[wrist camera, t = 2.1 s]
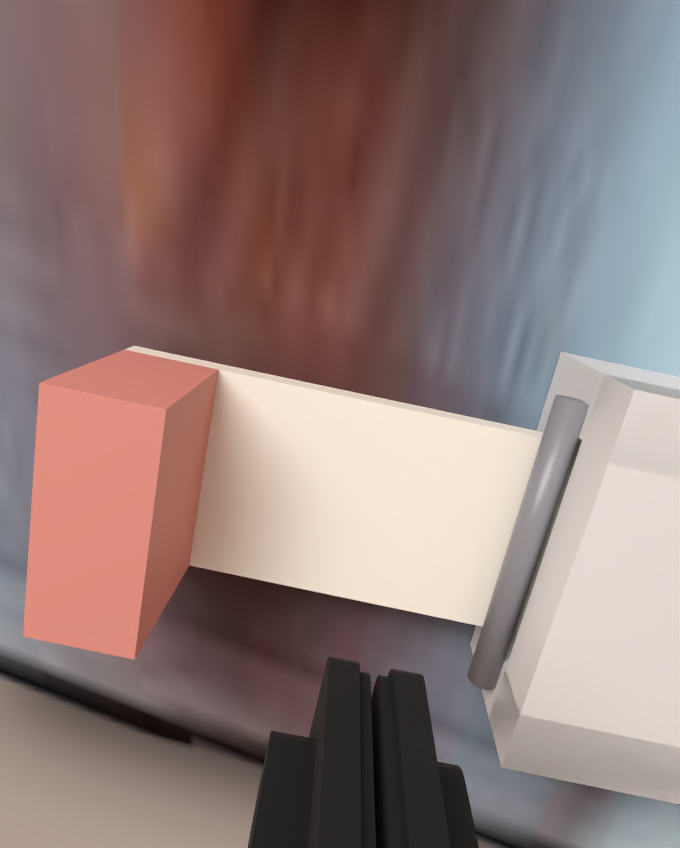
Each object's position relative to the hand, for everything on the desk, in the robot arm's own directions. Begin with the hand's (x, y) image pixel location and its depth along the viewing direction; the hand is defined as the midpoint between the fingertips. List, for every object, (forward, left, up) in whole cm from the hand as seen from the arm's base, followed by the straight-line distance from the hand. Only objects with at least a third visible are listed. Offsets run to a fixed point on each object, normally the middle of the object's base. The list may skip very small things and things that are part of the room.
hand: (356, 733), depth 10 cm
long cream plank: (-5, 0, -11) cm, 11 cm away
